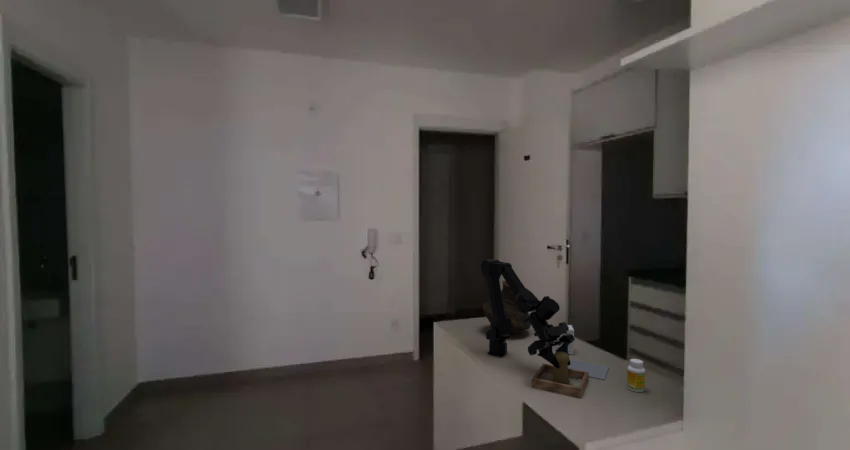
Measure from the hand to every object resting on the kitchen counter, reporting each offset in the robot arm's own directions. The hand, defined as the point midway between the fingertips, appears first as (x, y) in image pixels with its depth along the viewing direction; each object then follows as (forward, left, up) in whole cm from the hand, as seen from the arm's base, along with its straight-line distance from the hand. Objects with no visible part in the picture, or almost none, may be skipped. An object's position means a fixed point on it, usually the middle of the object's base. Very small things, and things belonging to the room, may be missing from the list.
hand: (564, 366), depth 146 cm
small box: (-6, +36, -7) cm, 37 cm away
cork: (-1, +1, -7) cm, 7 cm away
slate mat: (+5, +19, -7) cm, 20 cm away
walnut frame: (-1, +1, -7) cm, 7 cm away
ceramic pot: (-36, +48, -7) cm, 60 cm away
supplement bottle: (+22, +10, -7) cm, 25 cm away
